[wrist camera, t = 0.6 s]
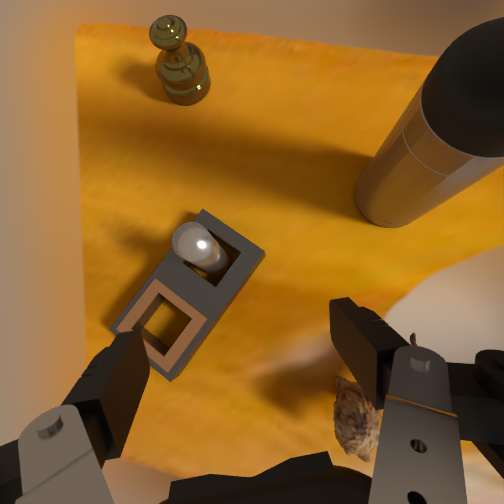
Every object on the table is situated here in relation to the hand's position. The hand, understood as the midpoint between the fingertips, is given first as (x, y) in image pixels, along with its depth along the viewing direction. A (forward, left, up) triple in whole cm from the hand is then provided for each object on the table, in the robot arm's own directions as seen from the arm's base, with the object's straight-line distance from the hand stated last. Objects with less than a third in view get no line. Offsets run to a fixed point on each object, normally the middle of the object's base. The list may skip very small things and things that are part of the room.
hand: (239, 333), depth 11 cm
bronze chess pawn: (-22, -30, -25) cm, 45 cm away
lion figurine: (-1, +15, -25) cm, 29 cm away
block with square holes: (+3, -9, -24) cm, 26 cm away
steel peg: (-2, -9, -24) cm, 26 cm away
